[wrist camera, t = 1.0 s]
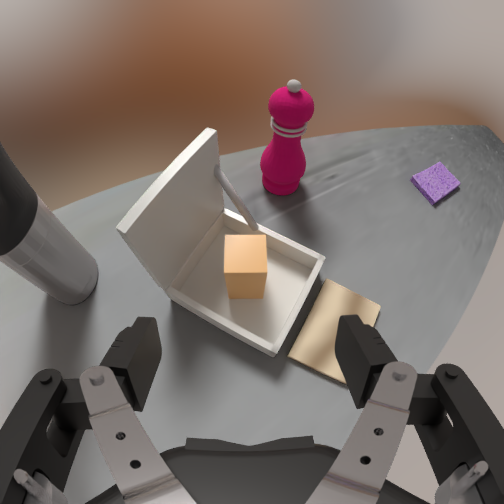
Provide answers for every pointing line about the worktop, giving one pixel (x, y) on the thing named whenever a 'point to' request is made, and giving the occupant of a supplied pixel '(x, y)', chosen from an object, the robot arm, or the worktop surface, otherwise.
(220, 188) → the equipment case
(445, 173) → the sponges
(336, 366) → the board
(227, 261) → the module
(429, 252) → the worktop surface
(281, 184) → the pepper mill
